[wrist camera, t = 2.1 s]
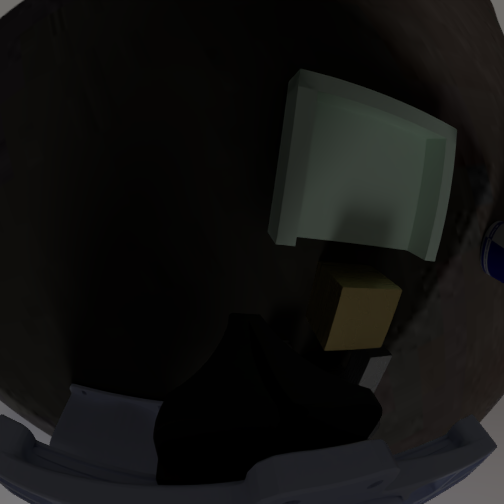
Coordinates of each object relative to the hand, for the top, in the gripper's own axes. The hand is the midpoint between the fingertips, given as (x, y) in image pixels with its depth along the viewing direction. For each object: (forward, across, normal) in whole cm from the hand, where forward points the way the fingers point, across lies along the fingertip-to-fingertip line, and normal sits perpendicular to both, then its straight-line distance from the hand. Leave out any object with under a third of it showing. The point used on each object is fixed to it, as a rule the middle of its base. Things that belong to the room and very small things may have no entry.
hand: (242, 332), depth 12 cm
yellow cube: (+5, -7, 0) cm, 9 cm away
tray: (+5, -7, -7) cm, 11 cm away
